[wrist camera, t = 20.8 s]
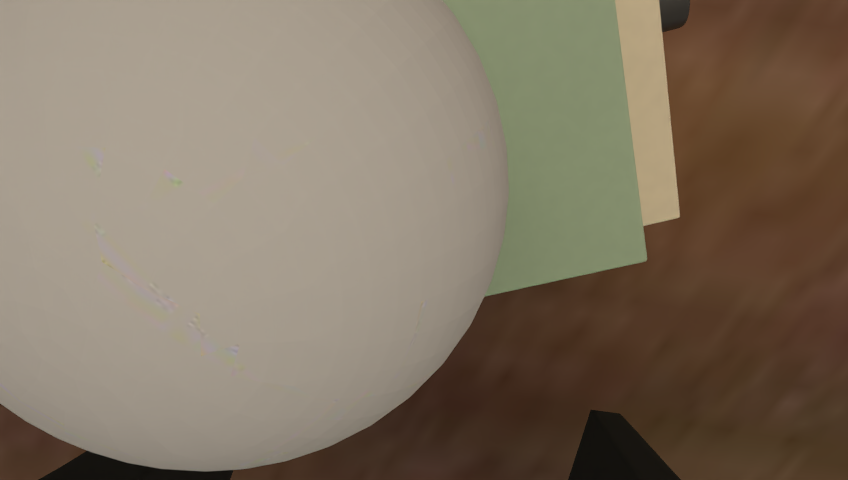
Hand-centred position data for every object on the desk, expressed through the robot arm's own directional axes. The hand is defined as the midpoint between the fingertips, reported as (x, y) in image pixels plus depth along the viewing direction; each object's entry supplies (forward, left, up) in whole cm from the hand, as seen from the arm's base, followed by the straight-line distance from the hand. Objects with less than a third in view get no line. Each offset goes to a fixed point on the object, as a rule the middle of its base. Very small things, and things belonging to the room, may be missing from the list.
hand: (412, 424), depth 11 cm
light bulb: (0, +6, -4) cm, 8 cm away
